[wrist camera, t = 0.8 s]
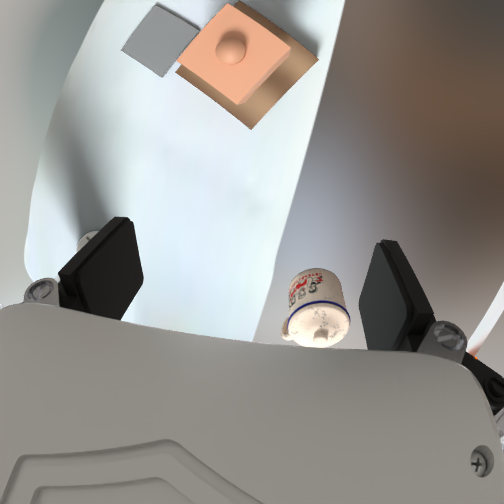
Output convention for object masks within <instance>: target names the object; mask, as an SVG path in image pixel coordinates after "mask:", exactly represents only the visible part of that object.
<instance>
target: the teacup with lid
mask: <svg viewBox="0 0 504 504" xmlns="http://www.w3.org/2000/svg"><path fill="white" fill-rule="evenodd" d="M349 326H350V316H349V313H348V312H347V309H346V305H345V301H344V296H343V292H342V288H341V284H340V281H339V279H338V278H337V276H336V275H335V274H333V273H332V272H330V271H328V270H325V269H320V268H313V269H308V270H305V271H303V272H301V273H299V274H298V275H297V276H296V277H295V278H294V279H293V280H292V282H291V284H290V287H289V316H288V318H287V319H286V320H285V321H284V323H283V326H282V329H281V336H282V338H284V339H285V340H292V339H294V341H296V342H297V343H298V344H300V345H303V346H305V347H319V348H323V347H327V346H330V345H333V344H335V343H336V342H338V341H340V340H341V339H342V338H343V337H344V336H345V335H346V333H347V331H348V329H349ZM288 332H289V333H288Z"/></svg>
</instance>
